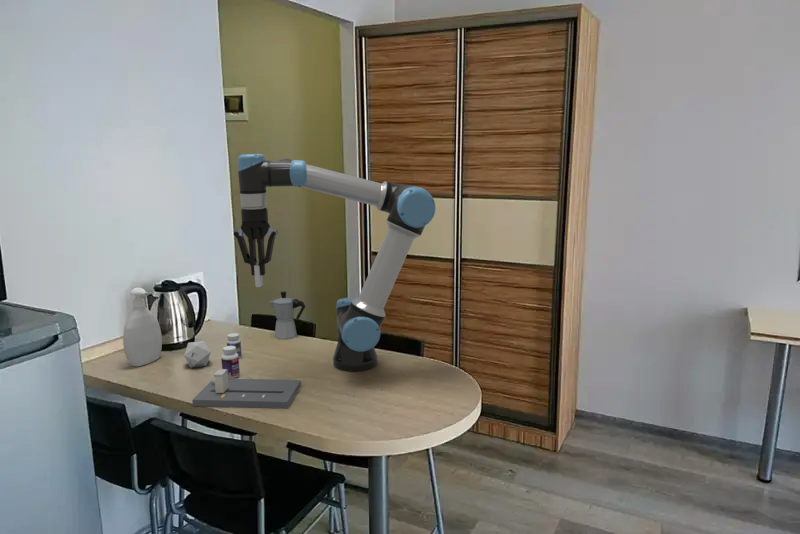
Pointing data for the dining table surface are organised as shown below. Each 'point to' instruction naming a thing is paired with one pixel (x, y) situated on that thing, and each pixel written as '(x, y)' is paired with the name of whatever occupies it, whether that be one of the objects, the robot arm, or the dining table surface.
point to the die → (197, 354)
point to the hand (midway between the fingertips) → (259, 285)
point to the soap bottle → (141, 333)
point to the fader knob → (221, 380)
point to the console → (250, 394)
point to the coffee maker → (286, 316)
